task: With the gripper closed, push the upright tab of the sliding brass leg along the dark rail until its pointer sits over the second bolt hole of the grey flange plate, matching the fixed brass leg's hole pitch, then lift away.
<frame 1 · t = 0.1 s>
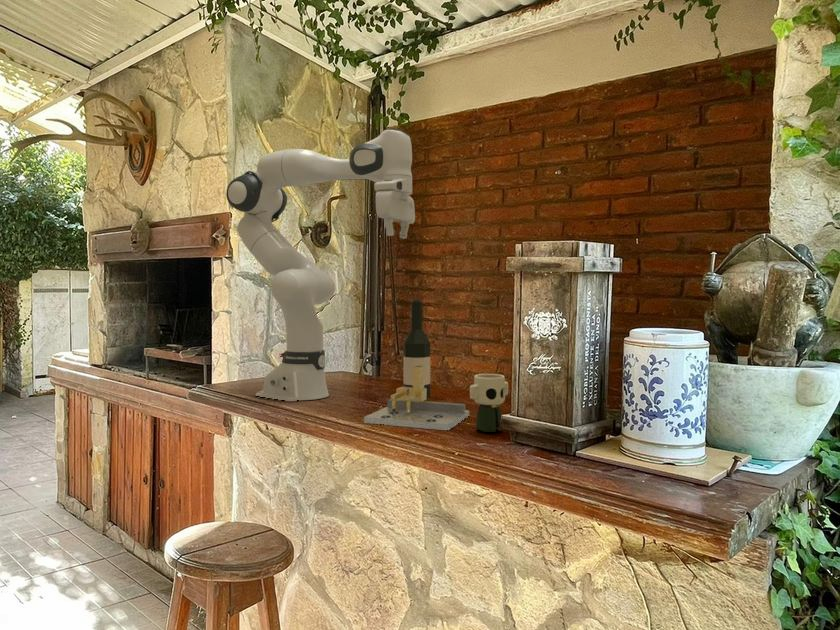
hand: (396, 237, 172), 48 cm above the worktop, tool pointing down, fingers open, 8 cm apart
sliding leg: (414, 388, 156), point 7 cm above the worktop, slide at 0.0 cm
wine bottle: (416, 397, 185), on the worktop
character mug: (489, 432, 140), on the worktop
flange plate: (417, 419, 153), on the worktop
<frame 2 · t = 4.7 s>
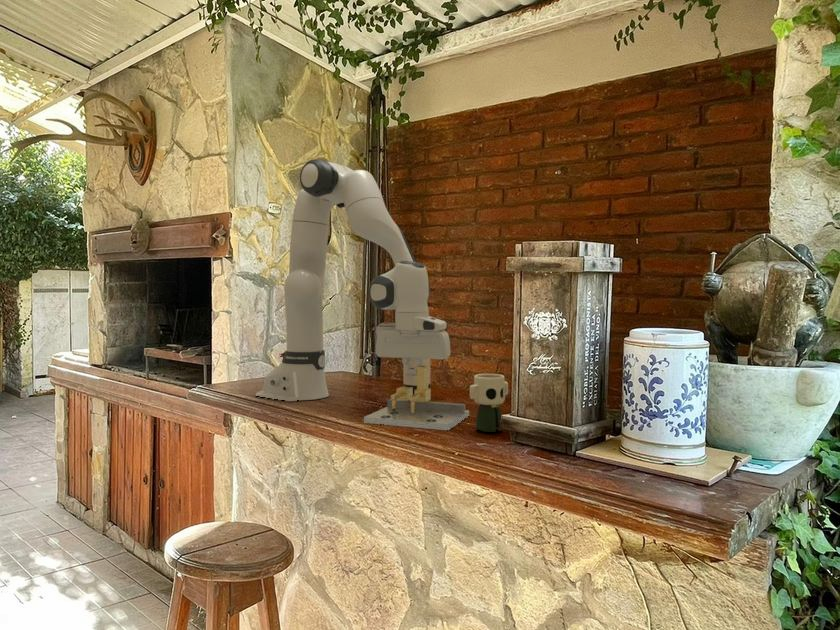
hand: (412, 375, 159), 10 cm above the worktop, tool pointing down, fingers closed
sliding leg: (418, 388, 155), point 7 cm above the worktop, slide at 1.2 cm, touching gripper
everything else where it was.
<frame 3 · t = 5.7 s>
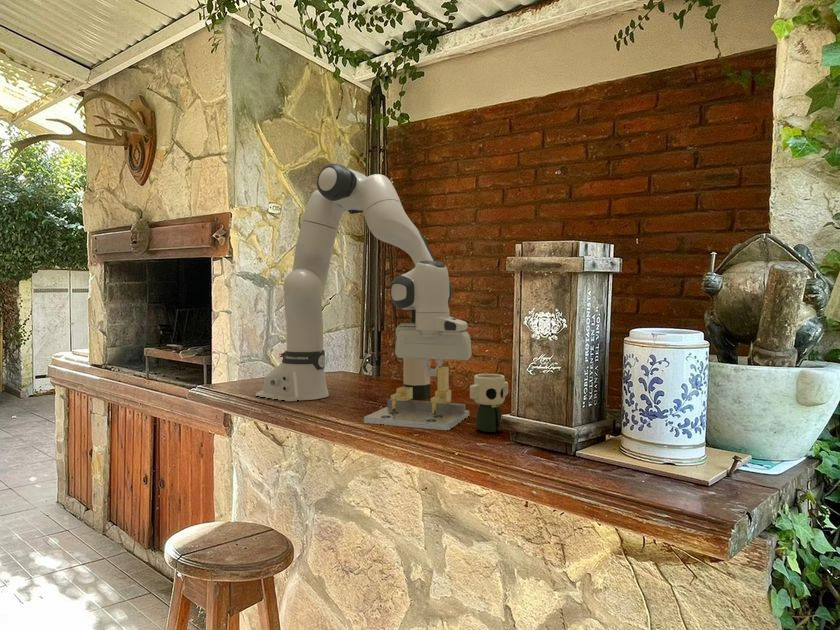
hand: (432, 376, 157), 10 cm above the worktop, tool pointing down, fingers closed
sliding leg: (439, 390, 153), point 7 cm above the worktop, slide at 6.8 cm, touching gripper
everything else where it was.
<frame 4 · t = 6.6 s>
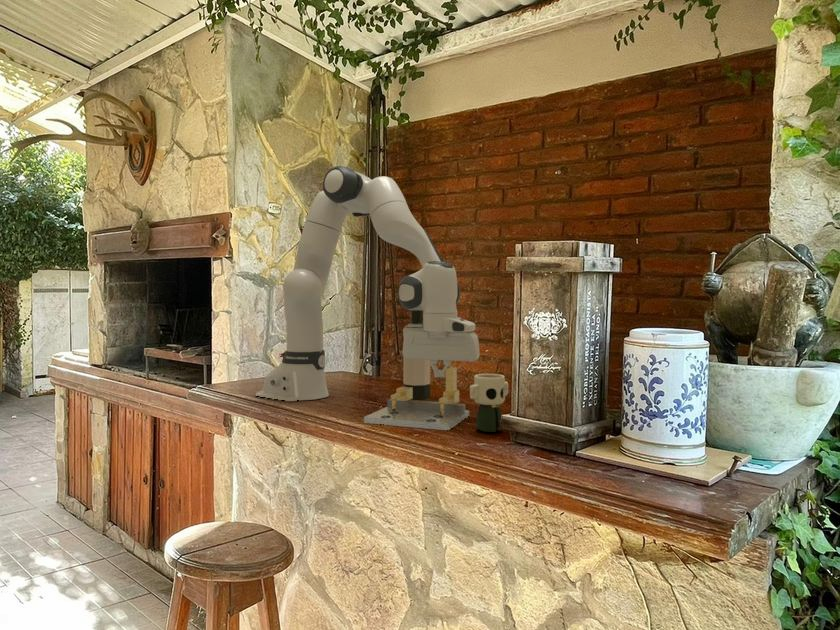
hand: (440, 377, 156), 10 cm above the worktop, tool pointing down, fingers closed
sliding leg: (447, 390, 152), point 7 cm above the worktop, slide at 9.0 cm, touching gripper
everything else where it was.
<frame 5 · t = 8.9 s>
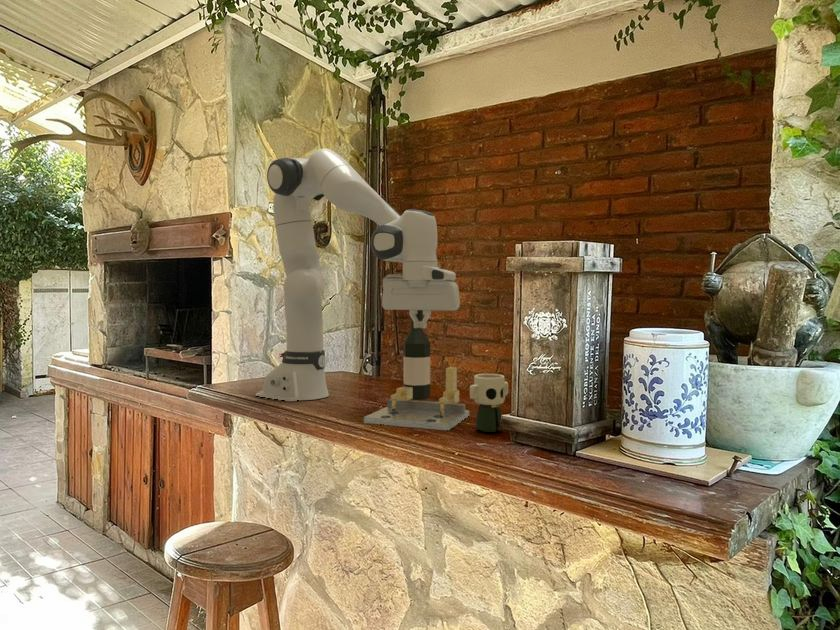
hand: (420, 328, 153), 23 cm above the worktop, tool pointing down, fingers closed
sliding leg: (447, 390, 152), point 7 cm above the worktop, slide at 9.0 cm
everything else where it was.
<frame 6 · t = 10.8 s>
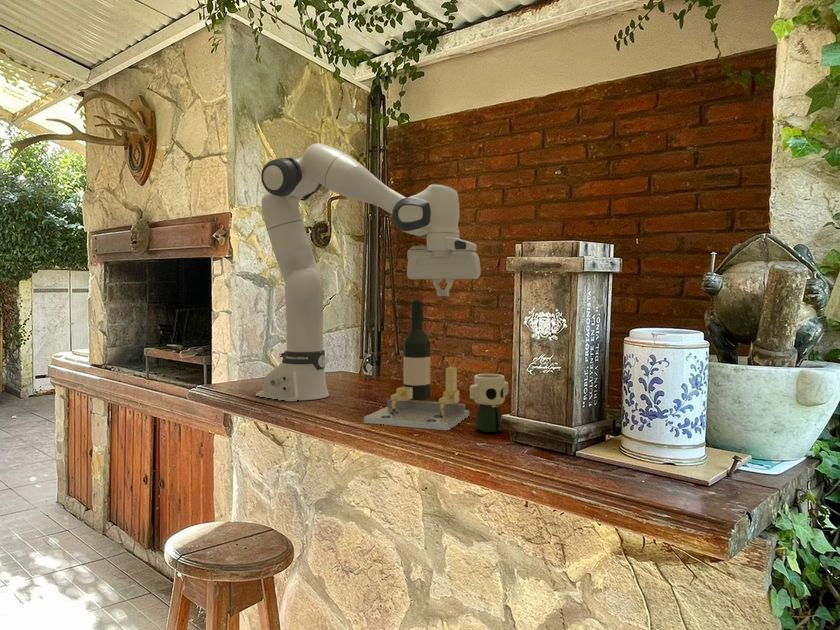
hand: (443, 296, 163), 31 cm above the worktop, tool pointing down, fingers closed
nothing on the worktop moved.
at the end: sliding leg slide at 9.0 cm; sliding leg touching nothing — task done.
